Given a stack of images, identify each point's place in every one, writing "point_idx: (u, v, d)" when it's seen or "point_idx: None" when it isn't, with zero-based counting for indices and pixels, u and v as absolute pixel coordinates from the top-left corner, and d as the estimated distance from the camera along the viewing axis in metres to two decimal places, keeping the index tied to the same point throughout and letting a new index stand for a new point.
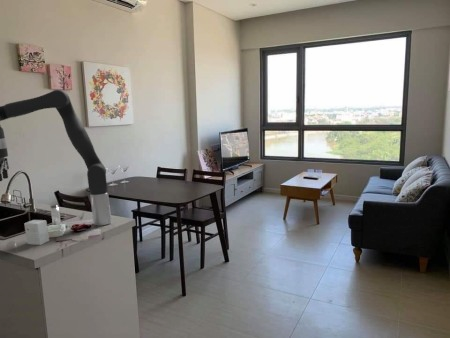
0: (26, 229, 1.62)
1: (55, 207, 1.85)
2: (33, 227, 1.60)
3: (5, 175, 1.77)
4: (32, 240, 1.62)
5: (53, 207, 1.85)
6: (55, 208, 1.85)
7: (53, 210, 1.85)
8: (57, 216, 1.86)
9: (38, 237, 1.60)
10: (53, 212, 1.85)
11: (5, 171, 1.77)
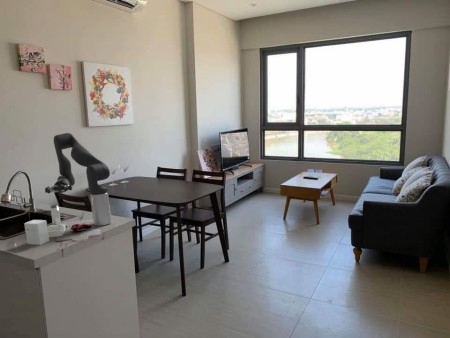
0: (26, 229, 1.62)
1: (55, 207, 1.85)
2: (33, 227, 1.60)
3: None
4: (32, 240, 1.62)
5: (53, 207, 1.85)
6: (55, 208, 1.85)
7: (53, 210, 1.85)
8: (57, 216, 1.86)
9: (38, 237, 1.60)
10: (53, 212, 1.85)
11: None
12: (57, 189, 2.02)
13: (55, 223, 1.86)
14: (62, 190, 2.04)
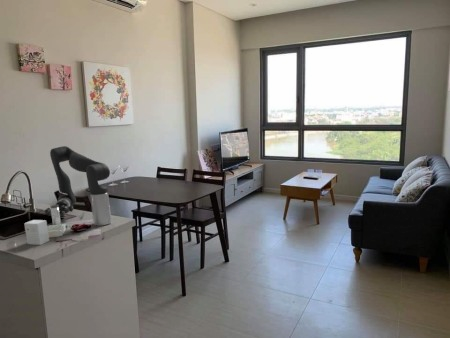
0: (26, 229, 1.62)
1: (55, 207, 1.85)
2: (33, 227, 1.60)
3: None
4: (32, 240, 1.62)
5: (53, 207, 1.85)
6: (55, 208, 1.85)
7: (53, 210, 1.85)
8: (57, 216, 1.86)
9: (38, 237, 1.60)
10: (53, 212, 1.85)
11: None
12: None
13: (55, 223, 1.86)
14: (63, 211, 1.99)
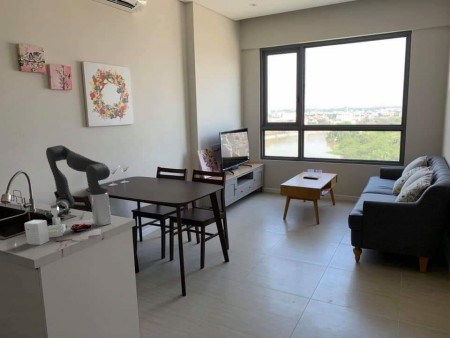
0: (26, 229, 1.62)
1: (55, 207, 1.85)
2: (33, 227, 1.60)
3: None
4: (32, 240, 1.62)
5: (53, 207, 1.85)
6: (55, 208, 1.85)
7: (53, 210, 1.85)
8: (57, 216, 1.86)
9: (38, 237, 1.60)
10: (53, 212, 1.85)
11: None
12: None
13: (55, 223, 1.86)
14: None
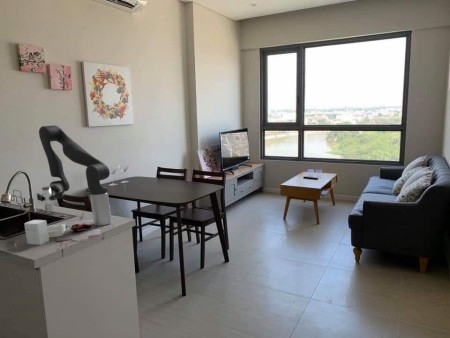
0: (26, 229, 1.62)
1: (47, 189, 1.72)
2: (33, 227, 1.60)
3: None
4: (32, 240, 1.62)
5: (45, 189, 1.72)
6: (48, 190, 1.72)
7: (45, 192, 1.72)
8: (49, 199, 1.73)
9: (38, 237, 1.60)
10: (45, 194, 1.72)
11: None
12: None
13: (47, 206, 1.73)
14: None
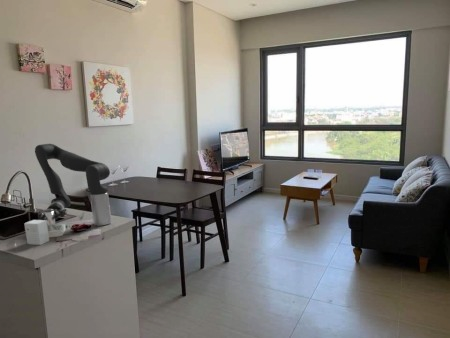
0: (26, 229, 1.62)
1: (50, 211, 1.73)
2: (33, 227, 1.60)
3: None
4: (32, 240, 1.62)
5: (48, 211, 1.73)
6: (50, 212, 1.73)
7: (48, 214, 1.73)
8: (52, 221, 1.74)
9: (38, 237, 1.60)
10: (48, 217, 1.73)
11: None
12: None
13: (50, 228, 1.74)
14: (55, 216, 1.80)
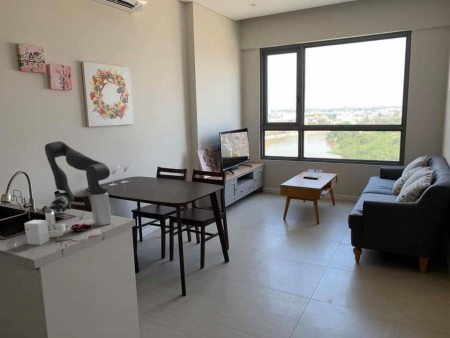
0: (26, 229, 1.62)
1: (50, 212, 1.73)
2: (33, 227, 1.60)
3: None
4: (32, 240, 1.62)
5: (48, 212, 1.72)
6: (50, 212, 1.73)
7: (48, 215, 1.73)
8: (52, 221, 1.74)
9: (38, 237, 1.60)
10: (48, 217, 1.73)
11: None
12: (55, 208, 1.91)
13: (50, 229, 1.74)
14: (60, 209, 1.93)
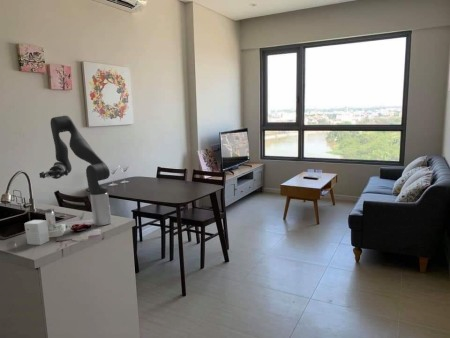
0: (26, 229, 1.62)
1: (50, 212, 1.73)
2: (33, 227, 1.60)
3: None
4: (32, 240, 1.62)
5: (48, 212, 1.72)
6: (50, 212, 1.73)
7: (48, 215, 1.73)
8: (52, 221, 1.74)
9: (38, 237, 1.60)
10: (48, 217, 1.73)
11: None
12: (52, 174, 1.93)
13: (50, 229, 1.74)
14: (58, 175, 1.95)
